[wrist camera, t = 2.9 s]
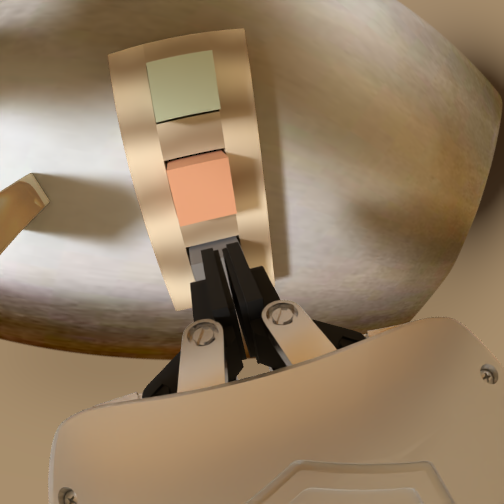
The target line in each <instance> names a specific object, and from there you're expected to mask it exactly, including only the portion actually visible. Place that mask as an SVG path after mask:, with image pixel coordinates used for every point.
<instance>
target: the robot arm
mask: <svg viewBox="0 0 504 504" xmlns="http://www.w3.org/2000/svg"><path fill="white" fill-rule="evenodd" d="M222 252H223V257H224V262H225V266H226V271H227V276H228V280H229V285H230V289H229V286H228V282H227V279H226V275H225V272H224V268H223V265H222V261H221V258H220V254H219V251H218V250H214V251H213V248H208V249H204V250H201V256H202V262H203V267H204V273H205V279H204V280H200V281H196V282H191V283H190V290H191V299H192V309H193V317H194V322H193V323H191V324H190V325H189V326H188V327H187V328H186V329H185V331H184V333H183V337H182V346H181V351H180V352H179V353H178V354H177V355H176V356H175V357H174V358H173V359H172V360H171V361H170V362H169V364H168V365H167V366H166V367H165V368H164V369H163V370H162V371H161V372H160V373H159V374H158V375H157V376H156V377H155V378H154V379H153V380H152V381H151V382H150V384H148V385H147V387H146V388H145V389H144V391H143V393H140V394H138V393H137V392H135V393H132V394H129V395H126V396H123V397H120V398H117V399H114V400H111V401H108V402H104V403H101V404H98V405H95V406H93V407H91V408H88V409H85V410H82V411H80V412H78V413H76V414H74V415H72V416H70V417H69V418H67V419H66V420H65V421H64V422H62V423H61V424H60V426H59V427H58V429H57V431H56V433H55V436H54V439H53V443H52V448H51V454H50V462H49V478H48V494H49V504H504V367H503V366H502V365H501V363H500V362H499V361H498V360H497V358H496V357H495V356H494V355H493V354H492V352H491V351H490V350H489V349H488V348H487V347H486V346H485V345H484V343H482V341H481V340H480V339H479V338H478V337H477V336H476V335H475V334H474V333H473V332H472V331H470V330H469V329H468V328H467V327H466V326H464V325H463V324H462V323H460V322H459V321H457V320H455V319H452V318H448V317H431V318H424V319H419V320H415V321H412V322H409V323H405V324H401V325H396V326H392V327H387V328H381V329H376V330H371V331H367V333H366V334H364V335H362V334H361V333H359V332H356V331H353V330H349V329H345V328H342V327H338V326H334V325H331V324H327V323H323V322H320V321H316V320H312V319H311V318H310V317H309V316H308V315H307V314H306V313H305V311H304V310H303V309H302V308H301V307H300V306H299V305H298V304H297V303H295V302H293V301H289V300H280V298H279V296H278V294H277V293H276V291H275V289H274V287H273V285H272V283H271V281H270V279H269V277H268V275H267V273H266V271H265V269H264V267H263V266H258V267H254V268H249V266H248V263H247V261H246V259H245V256H244V254H243V252H242V249H241V247H240V245H239V243H238V242H234V243H230V244H226V248H223V249H222ZM230 290H231V293H230ZM231 294H232V296H231ZM233 302H234V303H233ZM234 306H235V307H234ZM235 309H236V311H235ZM236 312H237V315H236ZM237 316H238V319H239V322H240V325H241V329H242V332H243V335H244V338H245V342H246V345H247V348H248V351H249V354H250V357H251V358H252V357H256V360H257V363H258V364H259V363H261V364H264V365H267V366H269V369H270V372H267V373H263V374H260V375H256V376H252V377H248V378H244V379H240V380H238V378H237V375H238V374H239V372H240V371H241V370H242V368H243V363H242V360H244V359H247V358H246V354H245V350H244V346H243V341H242V337H241V333H240V328H239V324H238V319H237Z"/></svg>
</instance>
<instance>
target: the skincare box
mask: <svg viewBox="0 0 504 504" xmlns="http://www.w3.org/2000/svg"><path fill="white" fill-rule="evenodd" d="M49 202H50V201H49V199H48V197H47V196H46V194H45V193H44V191H43V190H42V188H41V186H40V185H39V183H38V182H37V180H36V179H35V177H34V175H33V174H32V173H29V174H28V175H26V176H24V177H23V178H21V179H19V180H18V181H16V182H15V183H13V184H11V185H10V186H8V187H7V188H5V189H3V190H2V191H0V255H1V253H2V252H3V251H4V250H5V249H6V248H7V246H8V245H9V244H10V243H11V242H12V241H13V240H14V238H15V237H16V236H17V235H18V234H19V233H20V232H21V231H22V230H23V229H24V228H25V227H26V226H27V225H28V224H29V223H30V222H31V221H32V220H33V219H34V218H35V217H36V216H37V215H38V214H39V213H40V211H41V210H42V209H43V208H44V207H45V206H46V205H47V204H48V203H49Z"/></svg>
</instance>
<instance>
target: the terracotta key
mask: <svg viewBox="0 0 504 504" xmlns="http://www.w3.org/2000/svg"><path fill="white" fill-rule="evenodd" d="M166 172H167V176H168V180H169V184H170V189H171V193H172V197H173V201H174V205H175V209H176V213H177V217H178V221H179V224H180V227H182V226H186V225H190V224H194V223H198V222H202V221H206V220H211V219H215V218H219V217H224V216H228V215H233V214H237V210H236V204H235V197H234V191H233V185H232V178H231V172H230V166H229V159H228V157H227V156H226V155H225V154H224V153H223V151H222V150H219V151H214V152H209V153H204V154H200V155H195V156H190V157H186V158H182V159H177V160H173V161H169V162H168V164H167V170H166Z"/></svg>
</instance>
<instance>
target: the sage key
mask: <svg viewBox="0 0 504 504" xmlns="http://www.w3.org/2000/svg"><path fill="white" fill-rule="evenodd" d="M146 66H147V72H148V79H149V85H150V91H151V97H152V103H153V108H154V114H155V119H156V123H157V122H161V121H165V120H169V119H173V118H177V117H182V116H187V115H191V114H196V113H201V112H207V111H212V110H218V109H221V107H220V100H219V94H218V87H217V80H216V73H215V66H214V60H213V53H212V50H208V51H201V52H195V53H189V54H184V55H178V56H173V57H169V58H164V59H160V60H156V61H151V62H147V63H146Z"/></svg>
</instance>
